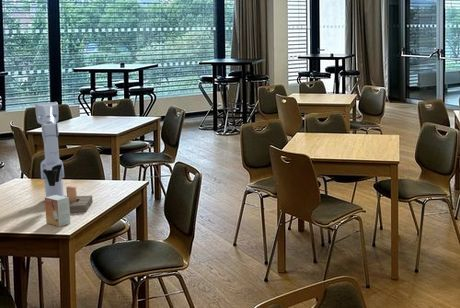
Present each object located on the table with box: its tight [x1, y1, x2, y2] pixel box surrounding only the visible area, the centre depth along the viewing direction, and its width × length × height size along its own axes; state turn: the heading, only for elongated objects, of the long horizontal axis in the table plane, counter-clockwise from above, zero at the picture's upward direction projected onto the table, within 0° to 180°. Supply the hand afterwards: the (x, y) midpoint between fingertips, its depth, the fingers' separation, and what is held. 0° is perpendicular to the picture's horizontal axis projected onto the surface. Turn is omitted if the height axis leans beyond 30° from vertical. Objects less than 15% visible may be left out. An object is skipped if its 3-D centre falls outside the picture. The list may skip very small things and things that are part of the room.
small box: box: [44, 195, 71, 227], centre depth 249 cm, size 8×6×10 cm
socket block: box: [63, 195, 94, 214], centre depth 272 cm, size 16×14×3 cm
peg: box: [65, 185, 78, 202], centre depth 272 cm, size 4×4×9 cm
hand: (54, 183), depth 271 cm, fingers open, 7 cm apart
